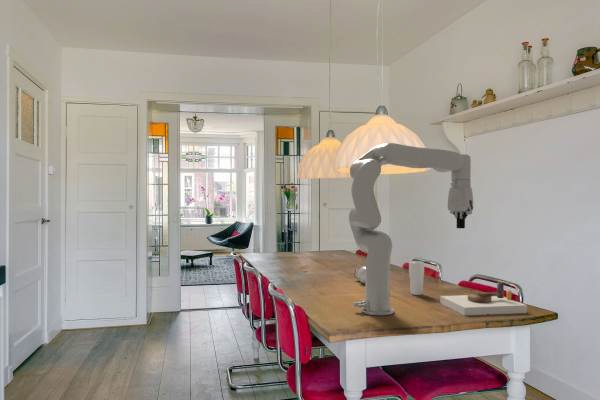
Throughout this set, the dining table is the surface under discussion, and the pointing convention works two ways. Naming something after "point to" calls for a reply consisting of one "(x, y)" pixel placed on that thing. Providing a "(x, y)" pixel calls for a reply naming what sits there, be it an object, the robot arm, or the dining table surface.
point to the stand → (483, 305)
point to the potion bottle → (360, 274)
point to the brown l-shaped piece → (488, 294)
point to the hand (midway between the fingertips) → (460, 228)
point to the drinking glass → (416, 277)
